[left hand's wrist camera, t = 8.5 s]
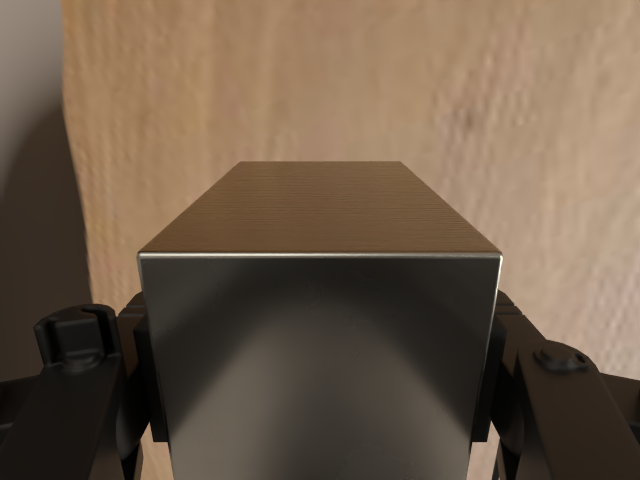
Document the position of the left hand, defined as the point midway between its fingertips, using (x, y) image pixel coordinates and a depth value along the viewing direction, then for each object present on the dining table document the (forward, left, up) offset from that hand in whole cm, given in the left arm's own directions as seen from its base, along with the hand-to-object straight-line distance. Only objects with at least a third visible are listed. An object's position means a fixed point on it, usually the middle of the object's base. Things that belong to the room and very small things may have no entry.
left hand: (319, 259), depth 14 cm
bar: (+8, +2, -1) cm, 8 cm away
